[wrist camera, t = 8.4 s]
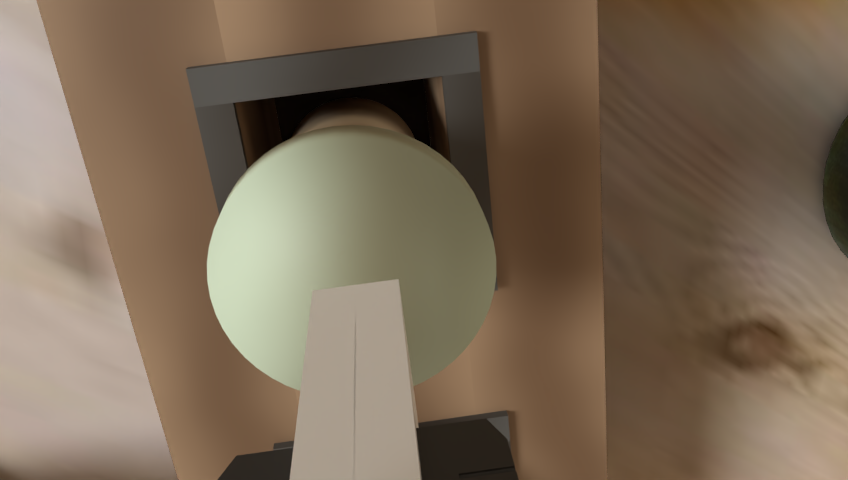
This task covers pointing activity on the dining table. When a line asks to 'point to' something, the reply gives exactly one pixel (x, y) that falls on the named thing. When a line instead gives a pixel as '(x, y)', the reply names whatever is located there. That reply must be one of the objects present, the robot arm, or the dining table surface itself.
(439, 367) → the peg
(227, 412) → the socket block
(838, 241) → the mug
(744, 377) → the dining table surface
